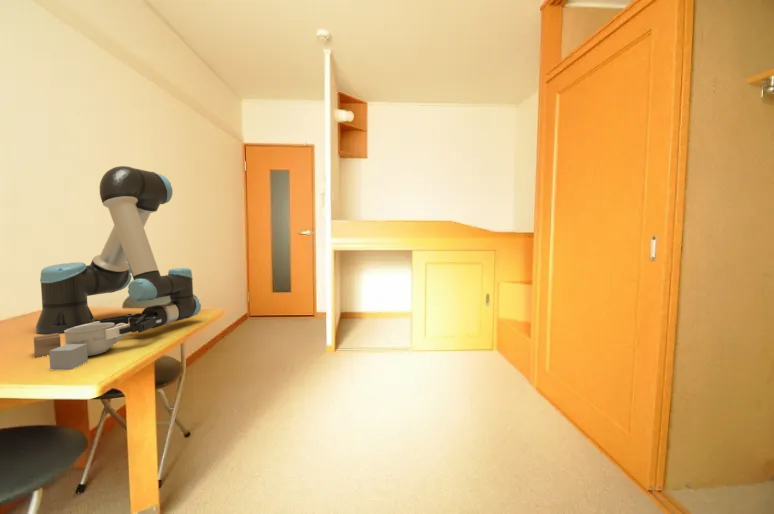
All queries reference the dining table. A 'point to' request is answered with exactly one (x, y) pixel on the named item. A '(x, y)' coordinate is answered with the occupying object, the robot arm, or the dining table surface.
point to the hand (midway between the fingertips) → (90, 333)
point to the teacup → (92, 337)
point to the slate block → (68, 356)
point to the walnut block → (46, 344)
